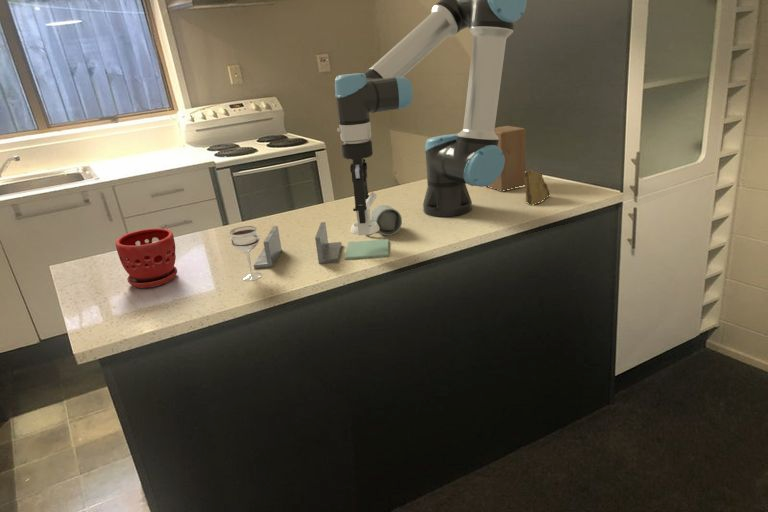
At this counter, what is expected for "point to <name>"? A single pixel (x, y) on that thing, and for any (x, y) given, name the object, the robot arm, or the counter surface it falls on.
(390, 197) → the counter surface
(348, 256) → the mat
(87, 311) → the counter surface
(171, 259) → the plant pot
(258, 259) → the dark grey bookends
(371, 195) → the white curved piece
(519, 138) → the wooden block
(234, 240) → the wineglass
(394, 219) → the ceramic mug
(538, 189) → the rock
